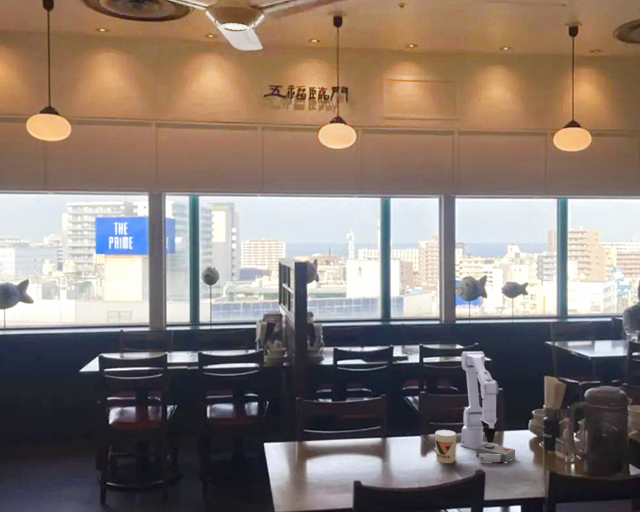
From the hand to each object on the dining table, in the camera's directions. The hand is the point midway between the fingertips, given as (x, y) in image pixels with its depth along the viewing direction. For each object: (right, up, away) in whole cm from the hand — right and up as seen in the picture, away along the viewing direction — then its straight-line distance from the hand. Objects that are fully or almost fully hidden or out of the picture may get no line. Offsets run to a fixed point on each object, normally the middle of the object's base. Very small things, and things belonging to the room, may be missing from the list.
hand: (488, 440), depth 275 cm
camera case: (+4, -9, +5) cm, 11 cm away
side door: (0, -9, -2) cm, 9 cm away
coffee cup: (-18, -10, +2) cm, 21 cm away
